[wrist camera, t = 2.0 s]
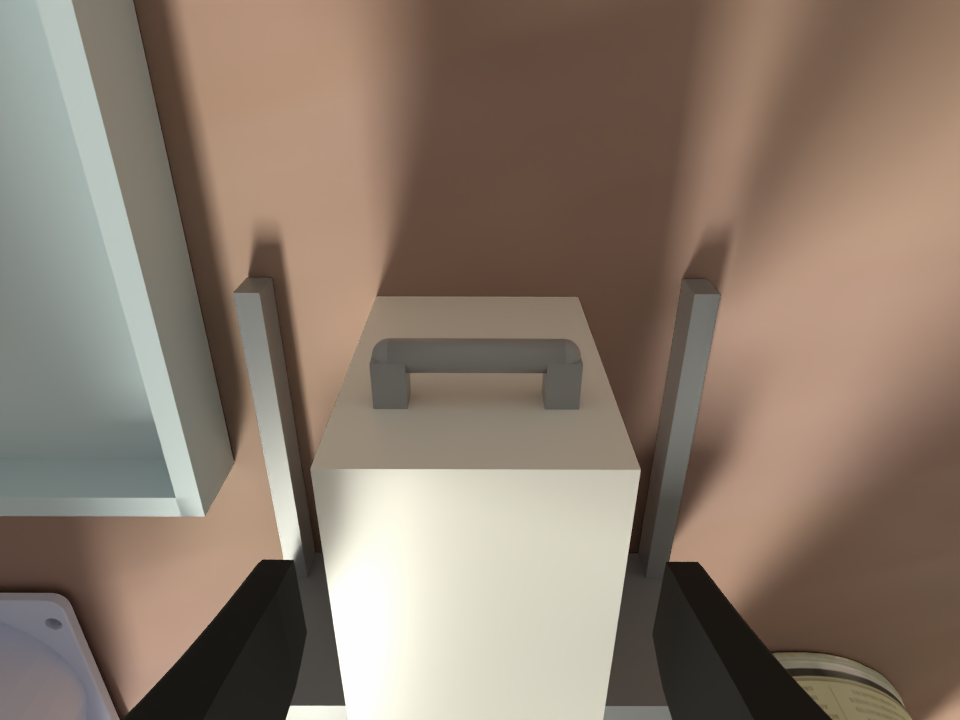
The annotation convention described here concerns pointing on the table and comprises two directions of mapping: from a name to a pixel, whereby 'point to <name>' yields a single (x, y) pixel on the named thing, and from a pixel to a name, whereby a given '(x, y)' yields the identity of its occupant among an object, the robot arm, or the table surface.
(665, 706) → the dock
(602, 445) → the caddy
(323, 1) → the table surface
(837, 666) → the coffee can
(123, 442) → the tray
